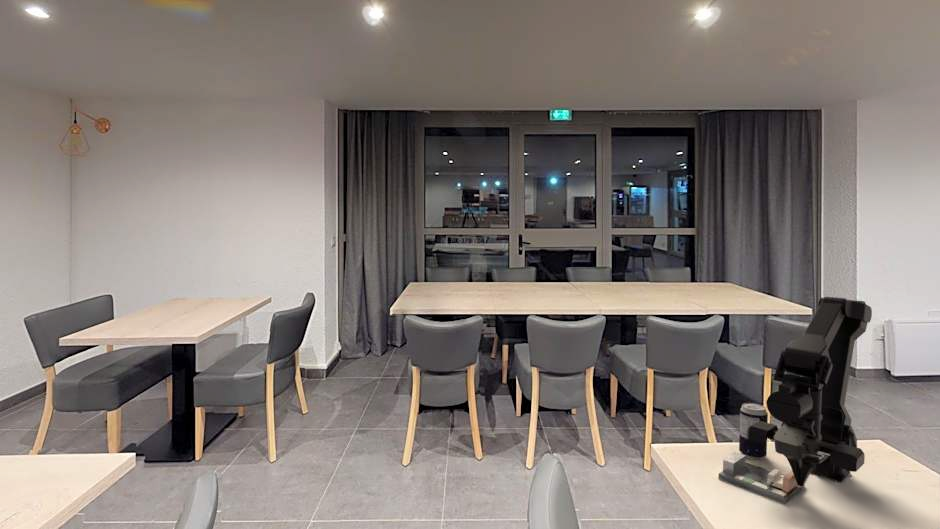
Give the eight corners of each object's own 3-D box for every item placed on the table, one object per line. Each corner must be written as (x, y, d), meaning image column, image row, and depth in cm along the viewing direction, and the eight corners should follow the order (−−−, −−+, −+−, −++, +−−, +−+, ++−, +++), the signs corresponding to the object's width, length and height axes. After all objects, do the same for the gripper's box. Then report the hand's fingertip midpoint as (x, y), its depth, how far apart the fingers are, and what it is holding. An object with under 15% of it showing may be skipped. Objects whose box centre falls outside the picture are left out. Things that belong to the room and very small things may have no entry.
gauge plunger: (776, 476, 103) (776, 464, 103) (797, 484, 100) (797, 471, 100) (762, 487, 99) (762, 474, 99) (784, 495, 96) (784, 482, 96)
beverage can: (770, 462, 112) (771, 411, 112) (743, 460, 114) (745, 410, 113) (761, 451, 118) (762, 402, 117) (735, 449, 119) (736, 401, 118)
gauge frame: (739, 464, 111) (739, 449, 111) (804, 487, 101) (805, 471, 101) (718, 478, 105) (718, 462, 105) (785, 504, 95) (786, 487, 95)
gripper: (735, 405, 99) (734, 480, 100) (848, 435, 84) (844, 522, 85) (759, 394, 105) (757, 463, 106) (867, 419, 91) (863, 500, 92)
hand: (800, 485), depth 97 cm, fingers closed
